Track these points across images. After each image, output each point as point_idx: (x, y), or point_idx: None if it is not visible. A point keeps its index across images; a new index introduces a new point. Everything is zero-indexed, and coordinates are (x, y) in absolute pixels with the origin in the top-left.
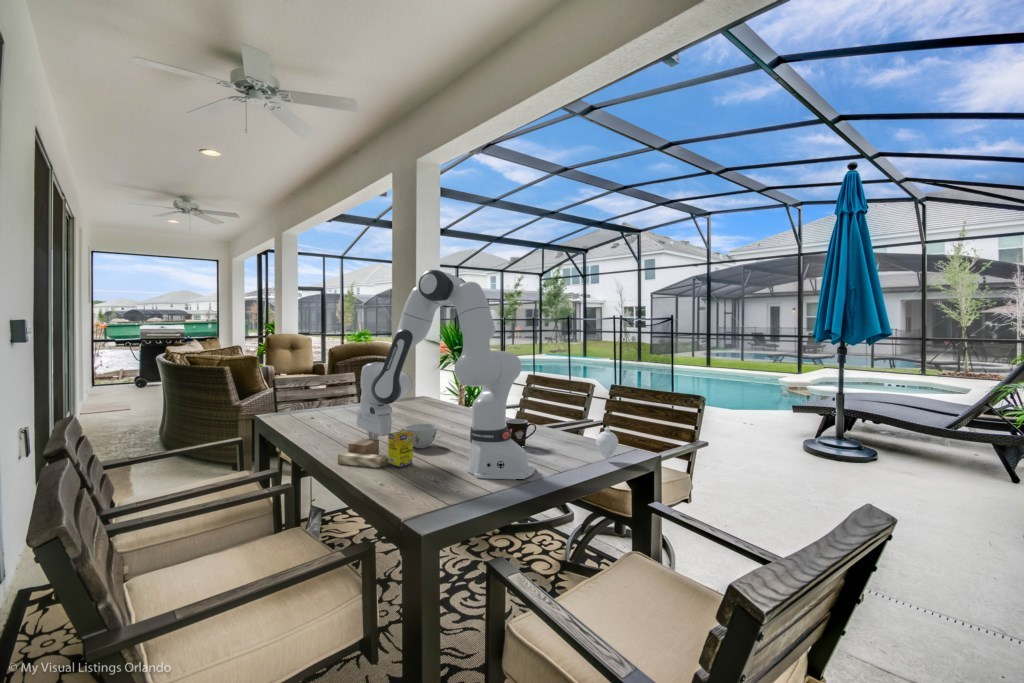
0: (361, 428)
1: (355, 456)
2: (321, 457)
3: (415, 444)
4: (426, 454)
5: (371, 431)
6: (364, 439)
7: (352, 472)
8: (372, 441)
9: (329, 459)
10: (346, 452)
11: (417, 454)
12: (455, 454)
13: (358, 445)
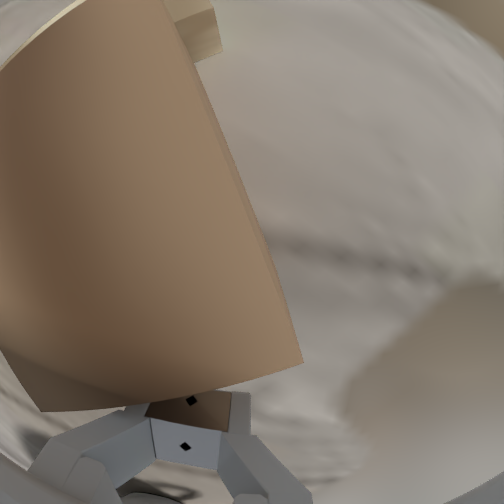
0: (487, 484)
1: (16, 50)
2: (425, 23)
3: (123, 500)
4: (41, 442)
5: (6, 479)
6: (178, 339)
7: (8, 36)
8: (2, 321)
9: (344, 7)
10: (170, 8)
11: (52, 434)
12: (19, 457)
13: (2, 79)
